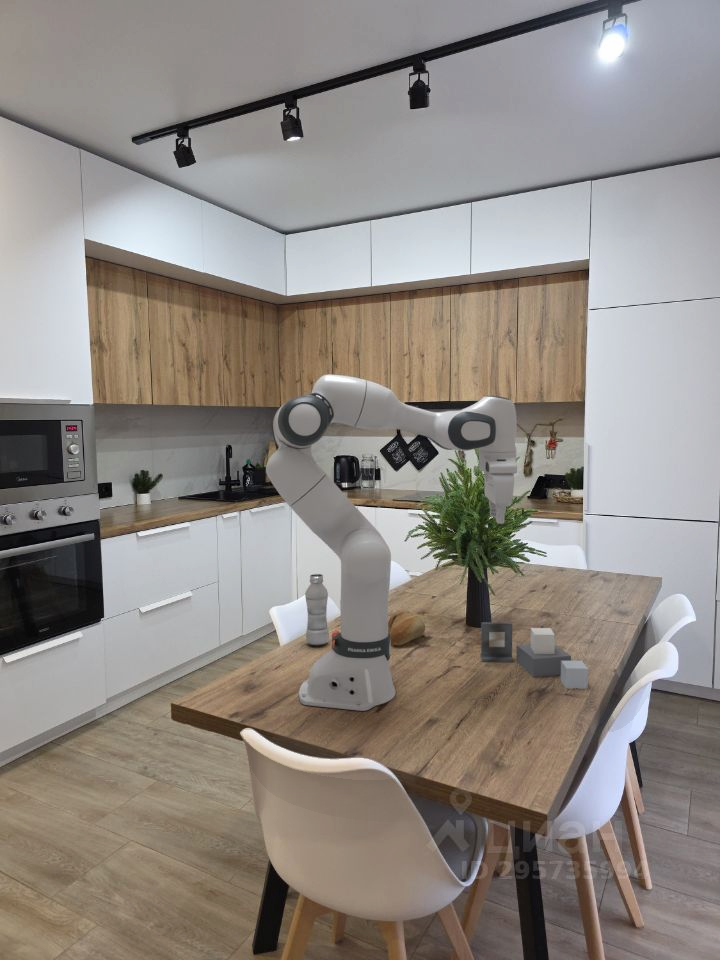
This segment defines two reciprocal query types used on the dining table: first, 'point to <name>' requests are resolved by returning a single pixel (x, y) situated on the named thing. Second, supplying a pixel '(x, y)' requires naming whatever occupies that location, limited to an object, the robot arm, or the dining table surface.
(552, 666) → the base block
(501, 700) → the dining table surface
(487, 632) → the standing grey panel
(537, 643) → the ivory cube
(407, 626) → the bread roll
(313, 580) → the plastic bottle
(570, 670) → the grey blue cube
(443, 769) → the dining table surface
